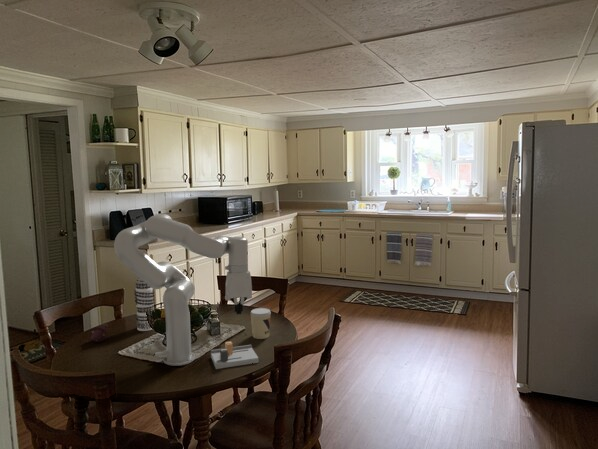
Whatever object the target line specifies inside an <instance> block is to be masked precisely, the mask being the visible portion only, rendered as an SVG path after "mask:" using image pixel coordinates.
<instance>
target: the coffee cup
mask: <svg viewBox="0 0 598 449" xmlns="http://www.w3.org/2000/svg"><path fill="white" fill-rule="evenodd" d="M271 314H272V312H271V310H270V308H265V307H258V308H253V309H252V310H251V311H250V319H251V320H250V321H251V323H250V324H251V331H252V338H254V339H257V340H264V339H268V338H269V337H270V331H271Z"/></svg>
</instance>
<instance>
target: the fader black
mask: <svg viewBox="0 0 598 449" xmlns="http://www.w3.org/2000/svg"><path fill="white" fill-rule="evenodd" d="M219 349H220V359H221V361H222V362H224V361H228V351H227V349H226V348H225V347H224V349H223V348H219Z"/></svg>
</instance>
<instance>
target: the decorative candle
mask: <svg viewBox="0 0 598 449" xmlns="http://www.w3.org/2000/svg"><path fill="white" fill-rule="evenodd" d="M134 283H135V289H134V290H133V292H134V299H135V300H134V302H135V306H136V315H135V317H136V318H135V320H136V322H135V323H136V327H137V328H136V330H137V331H140V332H147V331H151V330H153V329H152V328H151V327H150V326H149V323H148V321H147V315H146V311H147V310H149V309H150V310H154V311H155V309H154V305H155V302H154V301H155V299H154V297H155V294H154V293H155V291H154V289H153V288H151V287H150V286H148V285H147V284H146V283H145V282H144V281H143V280H142V279H141V278H139V277H138V278H137V279H136V281H134Z"/></svg>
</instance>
